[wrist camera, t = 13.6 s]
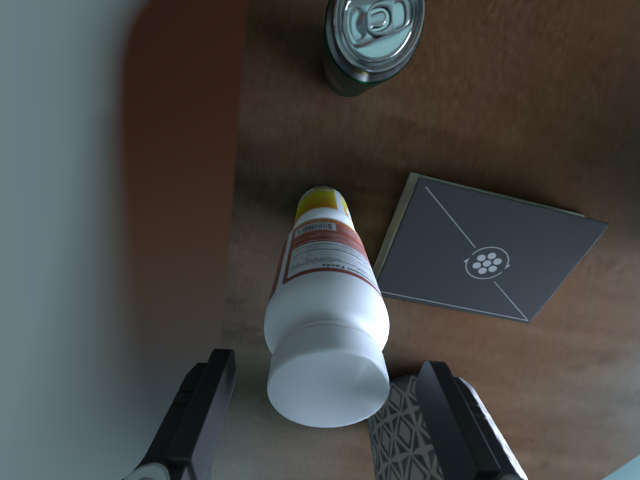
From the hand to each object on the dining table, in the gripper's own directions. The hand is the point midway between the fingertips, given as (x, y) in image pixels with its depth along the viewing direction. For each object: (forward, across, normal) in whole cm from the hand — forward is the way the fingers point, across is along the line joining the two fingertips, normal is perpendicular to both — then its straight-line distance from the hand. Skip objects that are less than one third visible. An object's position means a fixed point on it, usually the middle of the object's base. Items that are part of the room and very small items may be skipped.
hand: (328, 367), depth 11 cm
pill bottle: (+10, 0, 0) cm, 10 cm away
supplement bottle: (+20, 0, 0) cm, 20 cm away
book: (+20, -19, +4) cm, 28 cm away
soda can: (+20, -1, -14) cm, 25 cm away
